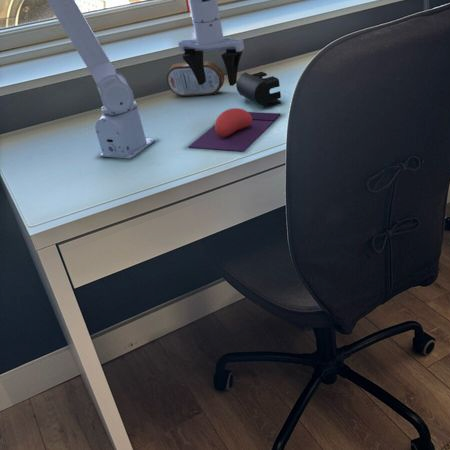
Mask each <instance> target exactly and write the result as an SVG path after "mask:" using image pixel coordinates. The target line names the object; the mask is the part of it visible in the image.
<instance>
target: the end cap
mask: <svg viewBox="0 0 450 450" xmlns="http://www.w3.org/2000/svg"><path fill="white" fill-rule="evenodd" d="M267 76H268V73H266V72H264V71H258V72H256V73H248V72H243V73H241V74H239V77H237V83H236V84H235V86H236V91H237V93H238V94H239V95H240V96H242V97H244V98H245V99H247V100H249V101H251V102H253V104H256V105H258V106H260V107H262V108H263V109H270V108H272V107H275V106H279V105H281V104H282V102H281V100H280V99H282V94H281V91H280V90H279V91H276V92H275V91H274V92H270V91H271V90H272V89H275V88H279V87H280V86H281V85H280V79H279V78H278V77H277V76H273V75H272V76H268V77H267ZM263 77H264V78H263Z"/></svg>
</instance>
